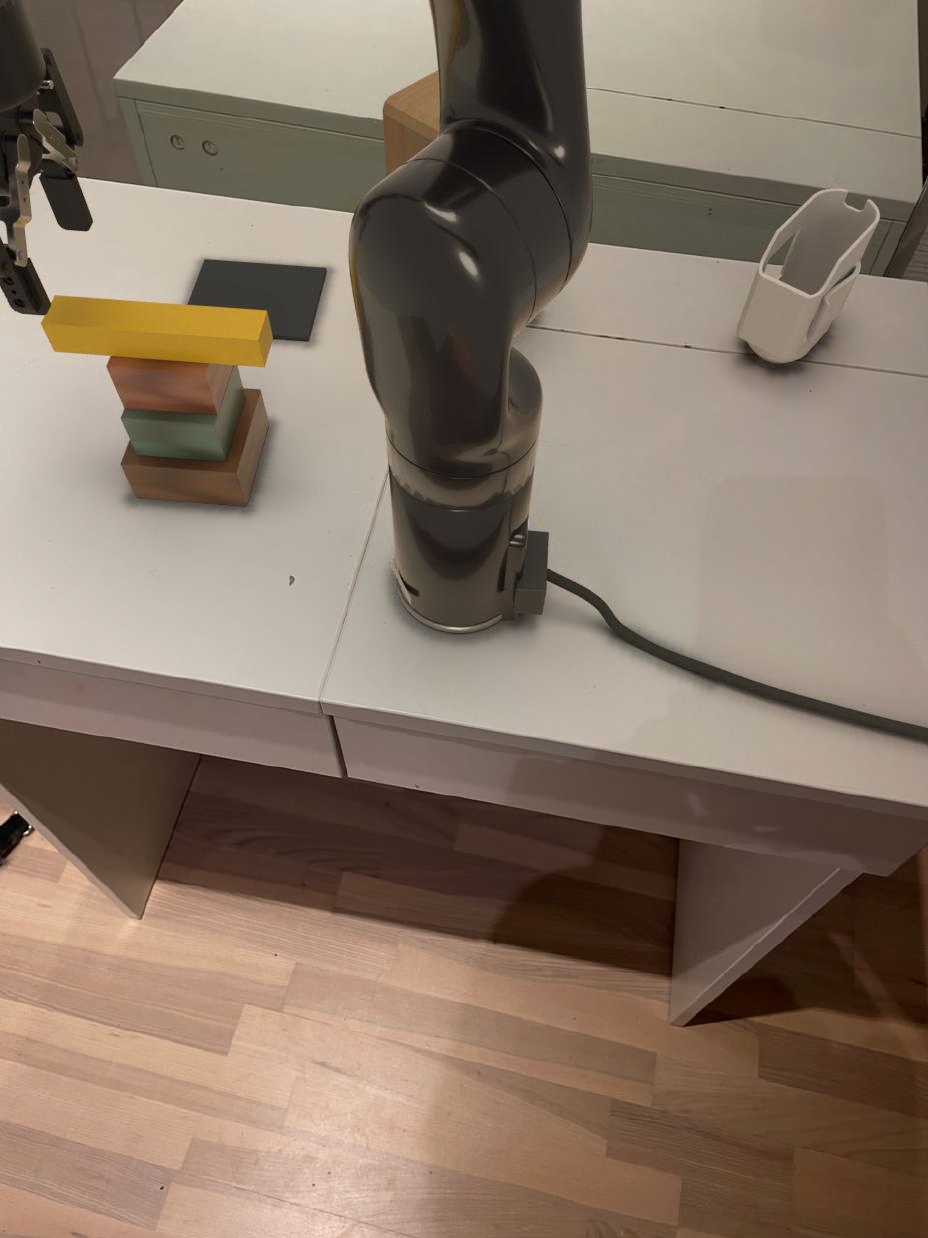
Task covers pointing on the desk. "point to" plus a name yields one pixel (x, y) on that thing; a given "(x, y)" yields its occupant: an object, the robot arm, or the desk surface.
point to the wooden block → (411, 120)
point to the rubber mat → (263, 292)
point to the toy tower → (189, 430)
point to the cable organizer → (807, 276)
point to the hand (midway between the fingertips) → (57, 267)
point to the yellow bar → (158, 331)
